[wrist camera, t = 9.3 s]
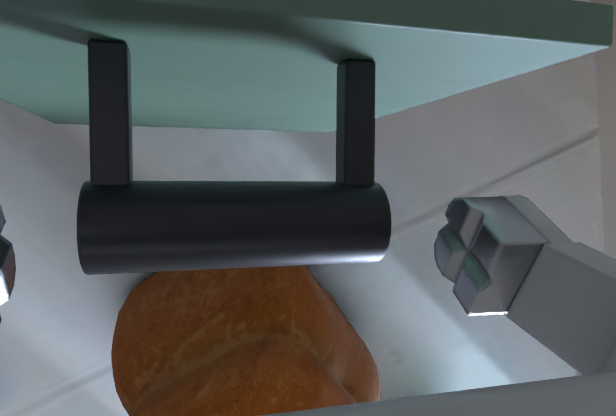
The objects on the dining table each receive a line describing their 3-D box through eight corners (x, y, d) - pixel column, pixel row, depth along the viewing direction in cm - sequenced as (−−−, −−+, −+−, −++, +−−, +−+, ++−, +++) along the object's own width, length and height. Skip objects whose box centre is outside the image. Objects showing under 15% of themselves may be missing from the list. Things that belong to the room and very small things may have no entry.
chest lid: (-319, -114, 6) (-287, 327, 6) (615, 4, 9) (605, 274, 9) (53, 106, 22) (56, 217, 23) (331, 117, 26) (330, 213, 26)
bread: (231, 401, 54) (250, 579, 41) (96, 294, 41) (59, 505, 28) (369, 330, 52) (436, 492, 39) (274, 195, 39) (325, 370, 26)
